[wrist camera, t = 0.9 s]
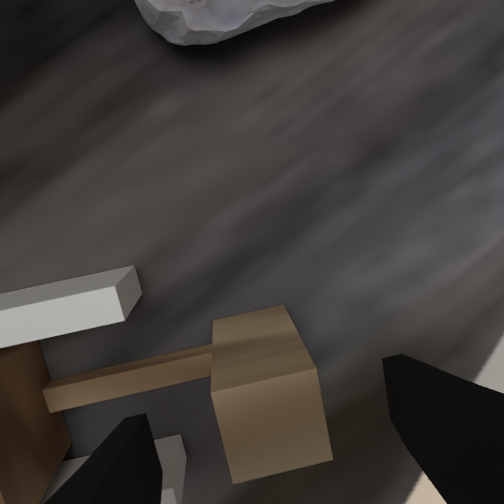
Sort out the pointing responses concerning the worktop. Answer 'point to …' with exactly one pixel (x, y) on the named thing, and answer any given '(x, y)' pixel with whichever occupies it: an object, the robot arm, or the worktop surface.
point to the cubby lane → (76, 319)
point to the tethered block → (165, 374)
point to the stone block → (214, 17)
